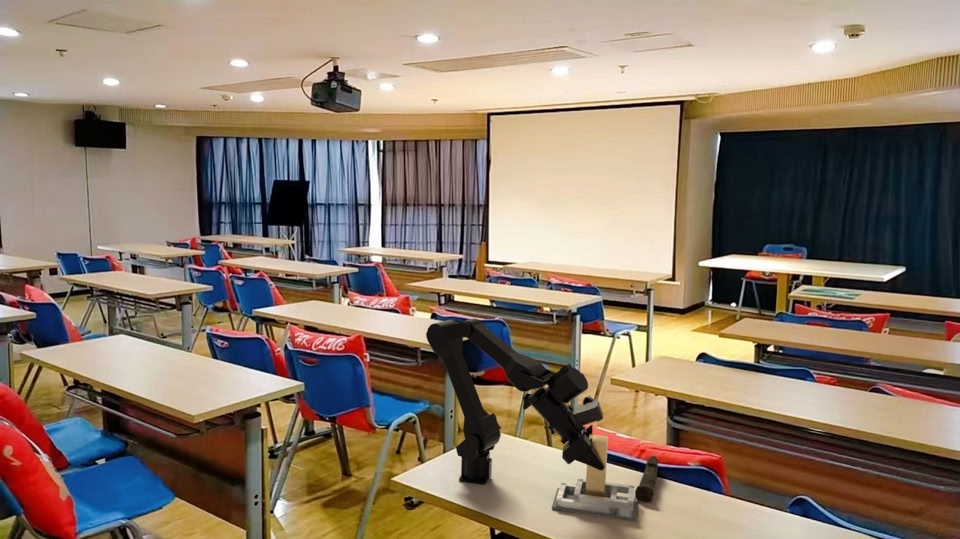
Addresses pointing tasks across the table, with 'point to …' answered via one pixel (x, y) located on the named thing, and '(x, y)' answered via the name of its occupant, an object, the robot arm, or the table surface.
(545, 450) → the table surface
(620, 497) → the mat
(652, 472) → the dark brown rod
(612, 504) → the grey slotted holder
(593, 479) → the pin
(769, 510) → the table surface
